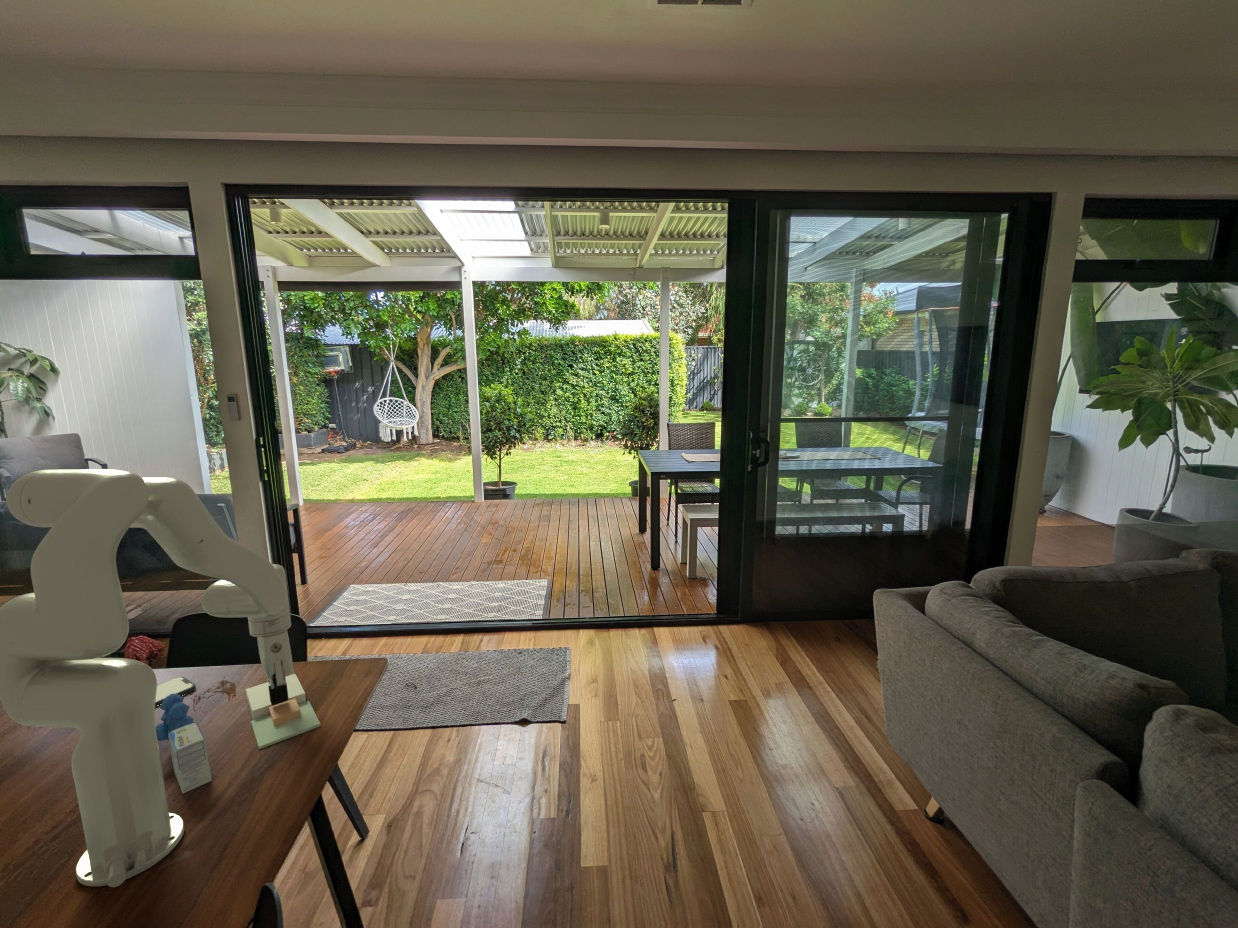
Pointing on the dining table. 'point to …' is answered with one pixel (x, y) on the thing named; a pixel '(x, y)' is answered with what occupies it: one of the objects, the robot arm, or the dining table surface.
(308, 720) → the mat
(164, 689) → the smartphone
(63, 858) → the dining table surface
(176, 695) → the grapes
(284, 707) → the tile
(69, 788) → the dining table surface
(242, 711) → the dining table surface
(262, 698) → the plate
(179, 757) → the medicine box
